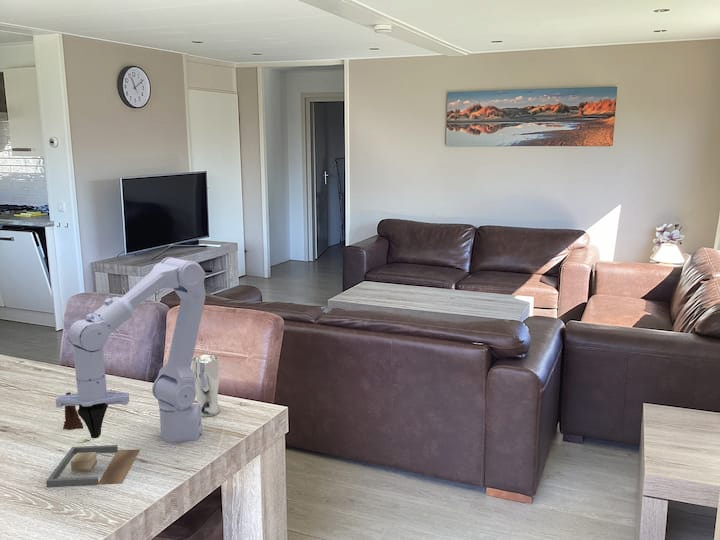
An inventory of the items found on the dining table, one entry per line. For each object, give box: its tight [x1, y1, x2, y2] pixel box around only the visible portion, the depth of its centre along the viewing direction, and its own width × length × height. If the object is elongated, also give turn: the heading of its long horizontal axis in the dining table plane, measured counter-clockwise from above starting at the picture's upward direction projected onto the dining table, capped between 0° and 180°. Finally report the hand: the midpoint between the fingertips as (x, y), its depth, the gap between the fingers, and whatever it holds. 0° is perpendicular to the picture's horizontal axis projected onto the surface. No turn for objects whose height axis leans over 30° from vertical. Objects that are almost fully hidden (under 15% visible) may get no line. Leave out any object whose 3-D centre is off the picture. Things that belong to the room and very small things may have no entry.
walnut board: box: [96, 448, 141, 486], centre depth 138 cm, size 5×15×1 cm, turn 5°
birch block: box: [70, 452, 98, 473], centre depth 138 cm, size 4×4×4 cm
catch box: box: [45, 444, 119, 488], centre depth 138 cm, size 10×15×3 cm, turn 5°
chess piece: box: [63, 391, 84, 431], centre depth 158 cm, size 5×5×10 cm
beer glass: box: [191, 354, 221, 418], centre depth 168 cm, size 7×7×15 cm
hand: (96, 436), depth 137 cm, fingers closed
